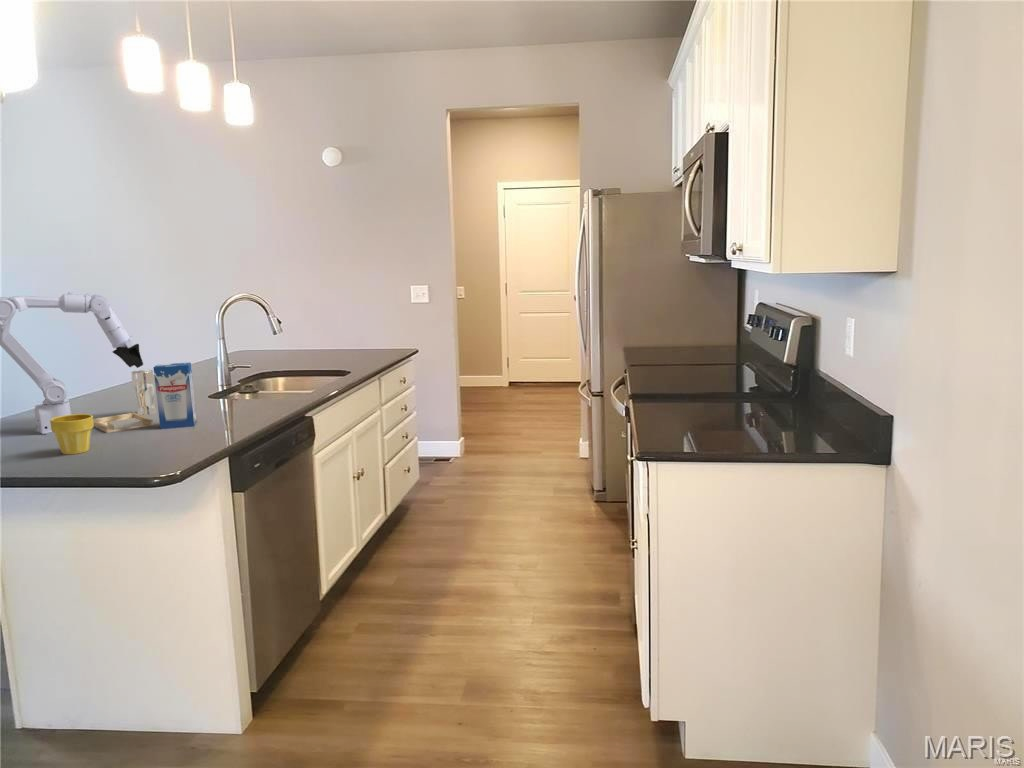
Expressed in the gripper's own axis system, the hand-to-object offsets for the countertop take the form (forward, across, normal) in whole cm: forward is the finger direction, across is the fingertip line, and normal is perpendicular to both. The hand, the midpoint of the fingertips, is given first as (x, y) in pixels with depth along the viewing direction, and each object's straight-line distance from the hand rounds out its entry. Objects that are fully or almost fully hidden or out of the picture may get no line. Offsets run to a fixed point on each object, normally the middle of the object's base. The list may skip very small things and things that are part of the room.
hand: (136, 366), depth 248 cm
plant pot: (+8, -28, +33) cm, 44 cm away
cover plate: (+13, -8, +15) cm, 22 cm away
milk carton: (+20, -21, +4) cm, 29 cm away
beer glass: (+18, +8, +4) cm, 19 cm away
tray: (+14, -5, +15) cm, 21 cm away
